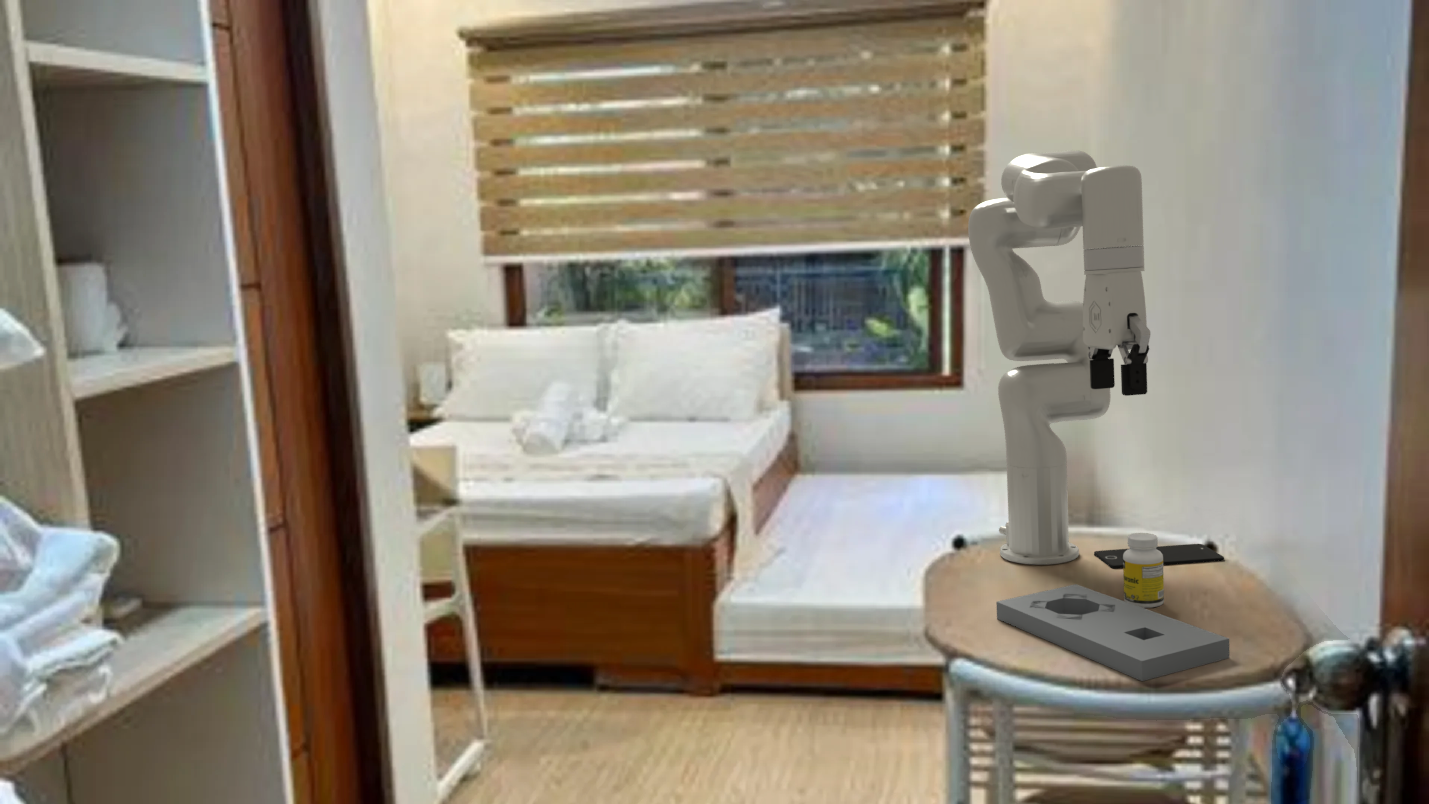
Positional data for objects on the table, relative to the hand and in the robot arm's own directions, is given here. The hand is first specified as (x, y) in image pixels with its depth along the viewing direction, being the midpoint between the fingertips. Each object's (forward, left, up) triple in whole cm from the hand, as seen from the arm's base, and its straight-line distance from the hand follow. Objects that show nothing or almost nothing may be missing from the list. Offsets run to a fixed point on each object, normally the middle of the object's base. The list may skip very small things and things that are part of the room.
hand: (1118, 391), depth 159 cm
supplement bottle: (-5, +8, -32) cm, 33 cm away
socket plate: (+3, -6, -32) cm, 33 cm away
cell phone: (-21, +26, -32) cm, 47 cm away
